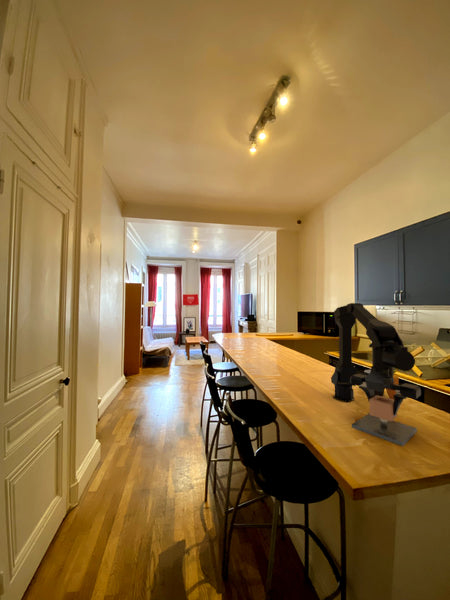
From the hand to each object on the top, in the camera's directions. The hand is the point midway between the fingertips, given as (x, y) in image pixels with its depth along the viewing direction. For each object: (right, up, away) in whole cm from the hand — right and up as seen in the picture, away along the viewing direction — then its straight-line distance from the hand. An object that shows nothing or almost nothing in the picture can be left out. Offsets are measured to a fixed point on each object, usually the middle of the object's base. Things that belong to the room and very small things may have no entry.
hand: (383, 411), depth 79 cm
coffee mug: (+16, -7, +33) cm, 38 cm away
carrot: (+20, -7, +25) cm, 32 cm away
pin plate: (0, -6, 0) cm, 6 cm away
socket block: (0, -1, 0) cm, 1 cm away
